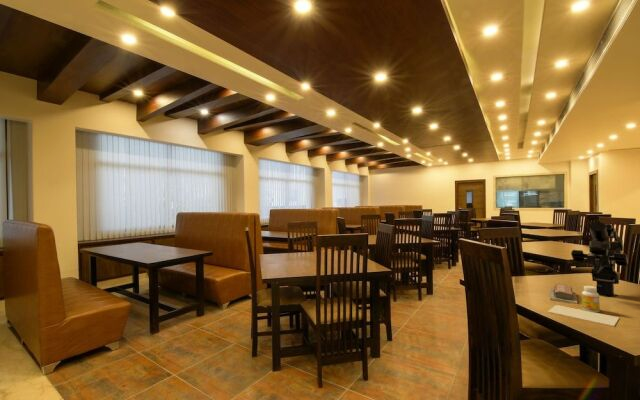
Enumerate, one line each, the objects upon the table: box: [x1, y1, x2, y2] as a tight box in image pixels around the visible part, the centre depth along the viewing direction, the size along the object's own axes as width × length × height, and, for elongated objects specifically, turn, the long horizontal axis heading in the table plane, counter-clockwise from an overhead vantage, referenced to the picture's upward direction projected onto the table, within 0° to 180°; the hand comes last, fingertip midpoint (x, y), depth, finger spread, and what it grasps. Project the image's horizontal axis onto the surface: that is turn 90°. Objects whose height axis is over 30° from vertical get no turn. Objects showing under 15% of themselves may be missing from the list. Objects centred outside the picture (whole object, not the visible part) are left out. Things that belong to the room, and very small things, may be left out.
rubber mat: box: [547, 304, 620, 327], centre depth 122 cm, size 12×20×1 cm, turn 39°
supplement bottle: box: [581, 285, 600, 313], centre depth 127 cm, size 5×5×10 cm
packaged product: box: [549, 283, 578, 305], centre depth 145 cm, size 18×5×10 cm
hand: (596, 272), depth 135 cm, fingers closed
